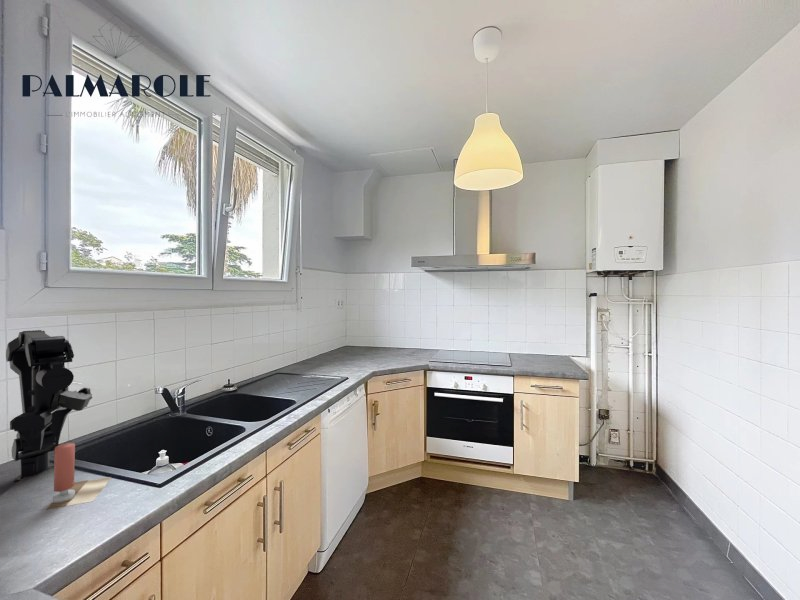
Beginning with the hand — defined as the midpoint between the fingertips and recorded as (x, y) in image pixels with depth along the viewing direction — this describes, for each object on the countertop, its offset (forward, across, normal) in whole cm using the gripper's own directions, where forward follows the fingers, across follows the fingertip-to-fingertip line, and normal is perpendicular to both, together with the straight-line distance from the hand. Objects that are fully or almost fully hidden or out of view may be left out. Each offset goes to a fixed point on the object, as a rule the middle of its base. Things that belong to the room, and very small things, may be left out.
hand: (47, 442), depth 90 cm
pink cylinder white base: (+12, -8, -6) cm, 16 cm away
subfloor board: (+13, -6, -9) cm, 17 cm away
